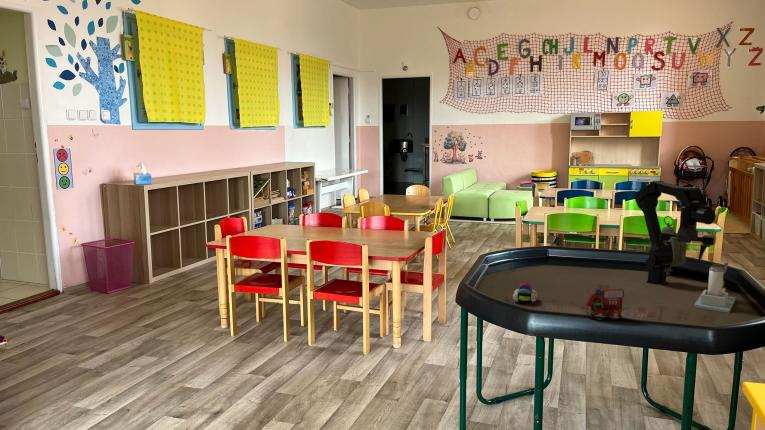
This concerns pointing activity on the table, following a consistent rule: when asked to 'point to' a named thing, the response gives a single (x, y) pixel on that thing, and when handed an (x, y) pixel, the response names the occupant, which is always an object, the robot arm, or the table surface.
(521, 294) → the multicoloured small toy
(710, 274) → the white cylinder
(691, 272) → the table surface
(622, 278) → the table surface
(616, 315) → the toy fire truck
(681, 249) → the tabletop clock
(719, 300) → the fitting board
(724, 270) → the snail figurine
